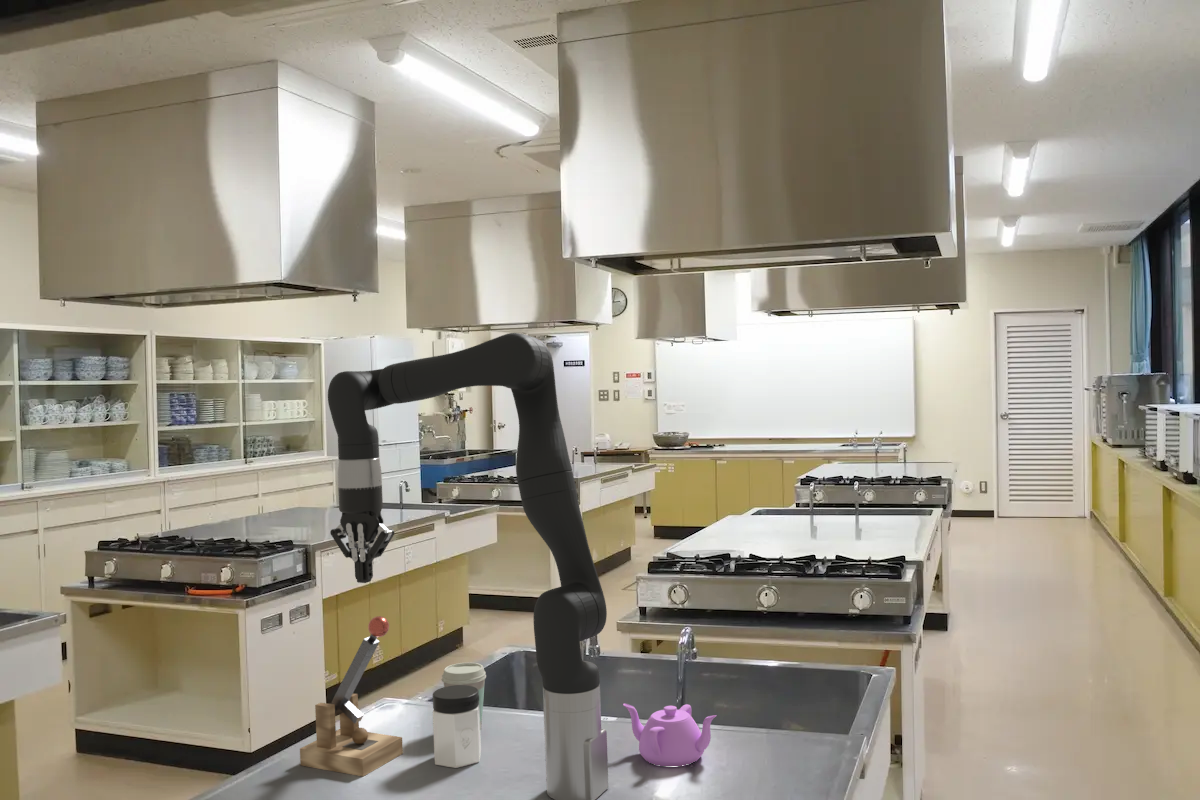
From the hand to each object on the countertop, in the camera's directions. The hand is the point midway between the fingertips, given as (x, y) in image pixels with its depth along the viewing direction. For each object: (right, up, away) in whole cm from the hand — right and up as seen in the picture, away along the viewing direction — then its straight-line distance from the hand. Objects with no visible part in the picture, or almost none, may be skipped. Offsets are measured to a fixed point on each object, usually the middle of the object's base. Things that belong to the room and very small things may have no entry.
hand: (364, 581), depth 174 cm
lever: (-5, -25, +3) cm, 26 cm away
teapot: (+54, -31, -2) cm, 62 cm away
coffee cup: (+16, -32, +16) cm, 39 cm away
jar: (+16, -32, +1) cm, 36 cm away
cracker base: (-3, -32, +2) cm, 32 cm away
